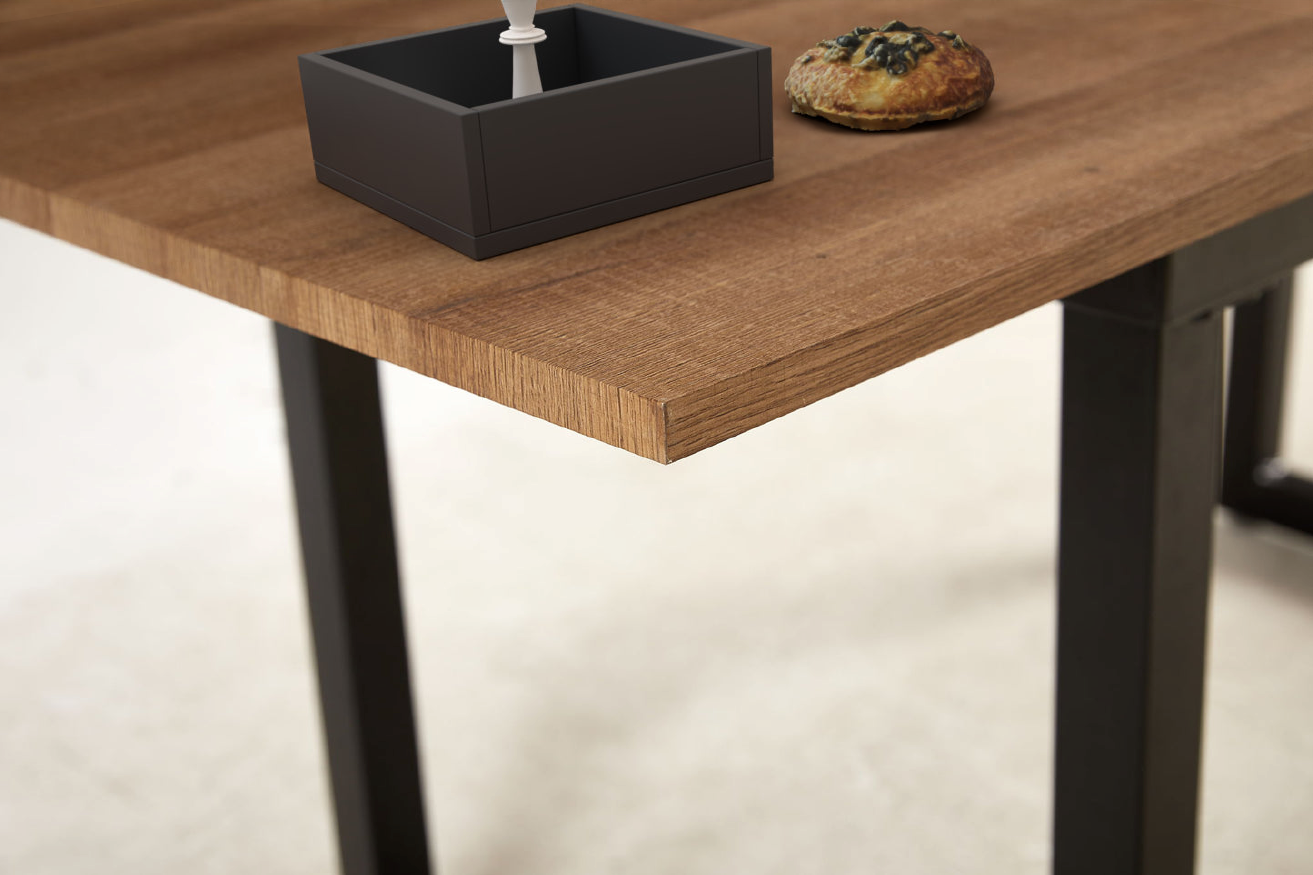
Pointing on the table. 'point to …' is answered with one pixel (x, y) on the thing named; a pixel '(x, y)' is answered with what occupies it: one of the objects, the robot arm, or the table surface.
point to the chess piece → (523, 46)
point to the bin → (539, 125)
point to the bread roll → (890, 77)
